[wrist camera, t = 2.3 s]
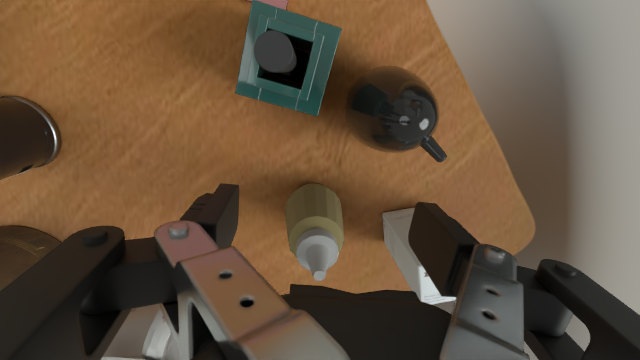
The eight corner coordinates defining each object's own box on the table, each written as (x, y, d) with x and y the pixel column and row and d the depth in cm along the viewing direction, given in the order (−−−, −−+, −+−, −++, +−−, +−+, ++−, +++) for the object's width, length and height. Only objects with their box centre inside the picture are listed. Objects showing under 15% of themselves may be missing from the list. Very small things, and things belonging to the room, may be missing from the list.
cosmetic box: (383, 242, 49) (416, 310, 35) (381, 209, 47) (415, 268, 33) (433, 234, 49) (486, 299, 35) (433, 201, 47) (489, 256, 33)
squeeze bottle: (298, 167, 44) (296, 227, 27) (347, 187, 45) (375, 255, 28) (278, 213, 46) (265, 295, 29) (325, 230, 47) (339, 317, 31)
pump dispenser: (372, 156, 44) (407, 198, 29) (325, 103, 41) (339, 121, 26) (428, 108, 42) (494, 128, 27) (383, 49, 39) (431, 36, 24)
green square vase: (249, 88, 39) (223, 97, 26) (263, 15, 37) (242, -16, 23) (314, 107, 41) (320, 124, 28) (332, 38, 38) (349, 20, 25)
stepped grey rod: (280, 72, 39) (249, 71, 15) (285, 51, 38) (259, 18, 15) (295, 76, 39) (286, 82, 16) (300, 55, 38) (299, 30, 15)
